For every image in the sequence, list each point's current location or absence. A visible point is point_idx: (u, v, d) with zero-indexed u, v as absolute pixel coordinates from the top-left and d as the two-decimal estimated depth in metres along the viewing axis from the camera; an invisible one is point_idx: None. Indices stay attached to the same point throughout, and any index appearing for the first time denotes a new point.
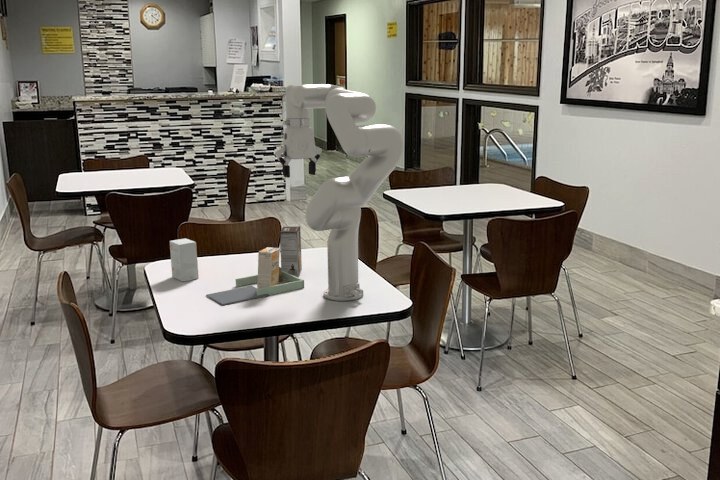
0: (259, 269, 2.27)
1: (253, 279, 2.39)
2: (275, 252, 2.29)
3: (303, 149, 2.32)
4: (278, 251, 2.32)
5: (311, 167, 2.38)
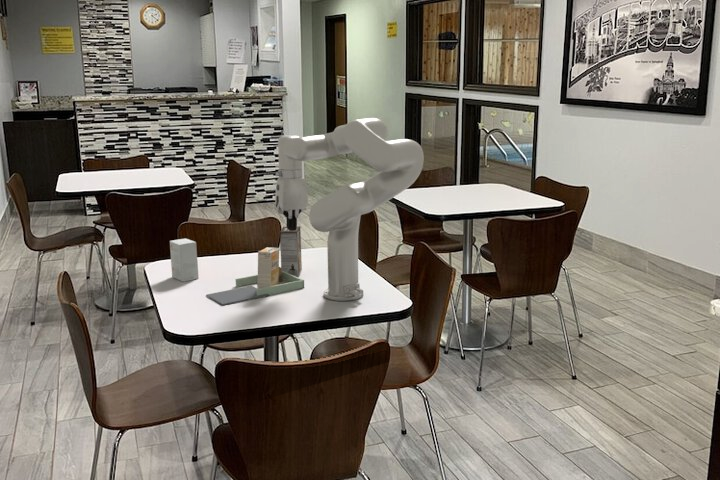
0: (259, 269, 2.27)
1: (253, 279, 2.39)
2: (275, 252, 2.29)
3: (295, 200, 2.30)
4: (278, 251, 2.32)
5: None
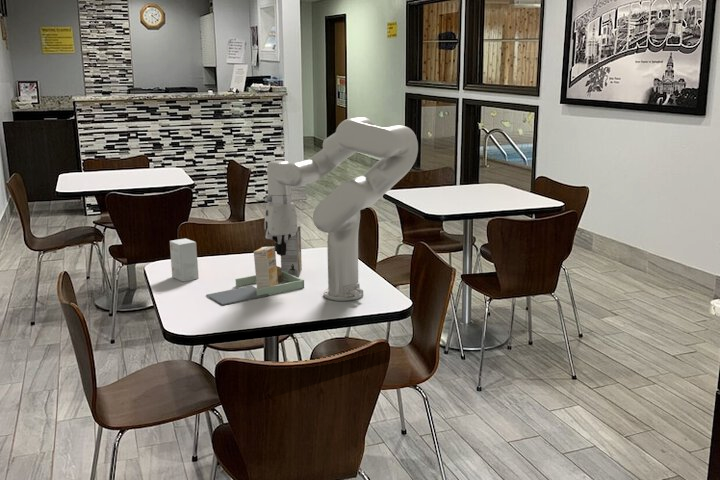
0: (256, 269, 2.28)
1: (253, 279, 2.39)
2: (270, 250, 2.29)
3: (285, 225, 2.29)
4: (273, 249, 2.32)
5: None
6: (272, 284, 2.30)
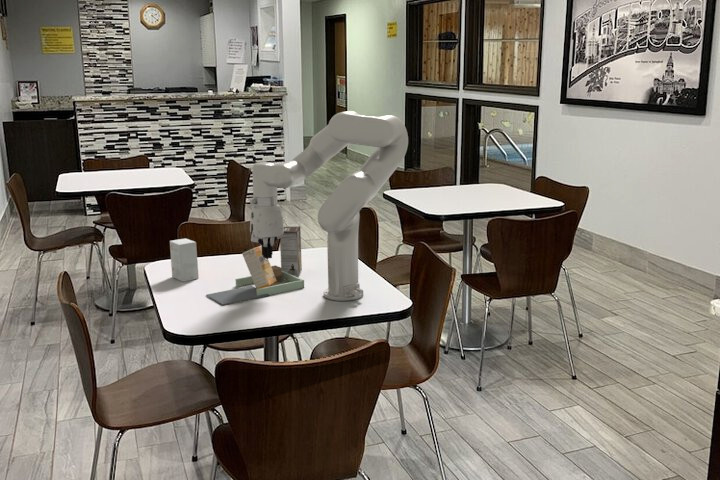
0: (250, 269, 2.28)
1: None
2: (258, 248, 2.30)
3: (270, 228, 2.26)
4: None
5: None
6: (270, 280, 2.30)
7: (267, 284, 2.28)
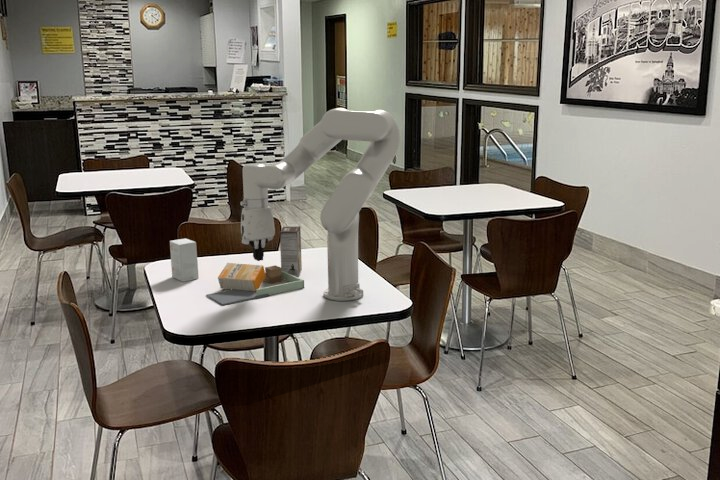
0: (236, 288, 2.31)
1: None
2: (223, 271, 2.32)
3: (261, 230, 2.24)
4: (227, 265, 2.35)
5: None
6: (253, 275, 2.29)
7: (252, 281, 2.27)
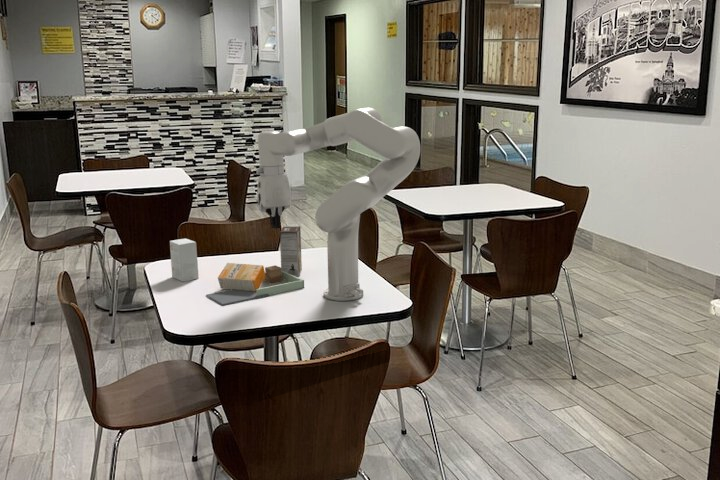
0: (236, 288, 2.31)
1: None
2: (223, 271, 2.32)
3: (278, 197, 2.25)
4: (227, 265, 2.35)
5: None
6: (252, 275, 2.29)
7: (252, 281, 2.27)
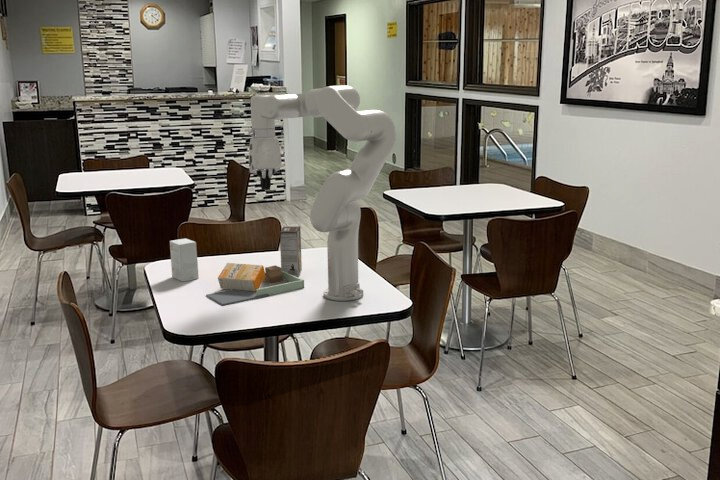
0: (236, 288, 2.31)
1: None
2: (223, 271, 2.32)
3: (269, 159, 2.32)
4: (227, 265, 2.35)
5: None
6: (252, 275, 2.29)
7: (252, 281, 2.27)
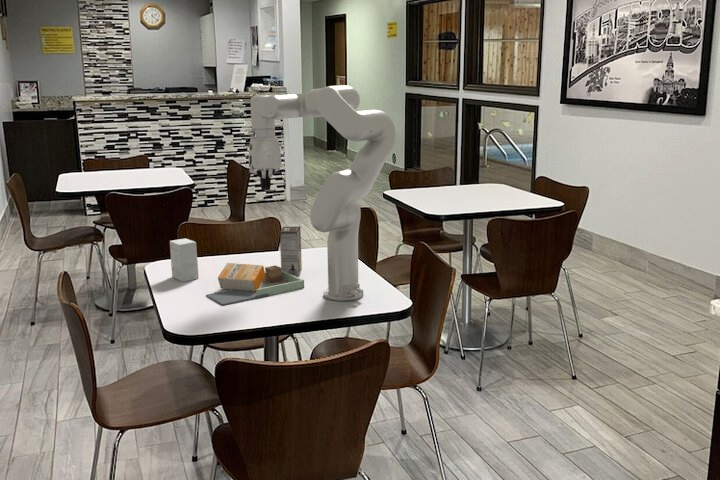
0: (236, 288, 2.31)
1: None
2: (223, 271, 2.32)
3: (269, 159, 2.32)
4: (227, 265, 2.35)
5: None
6: (252, 275, 2.29)
7: (252, 281, 2.27)
